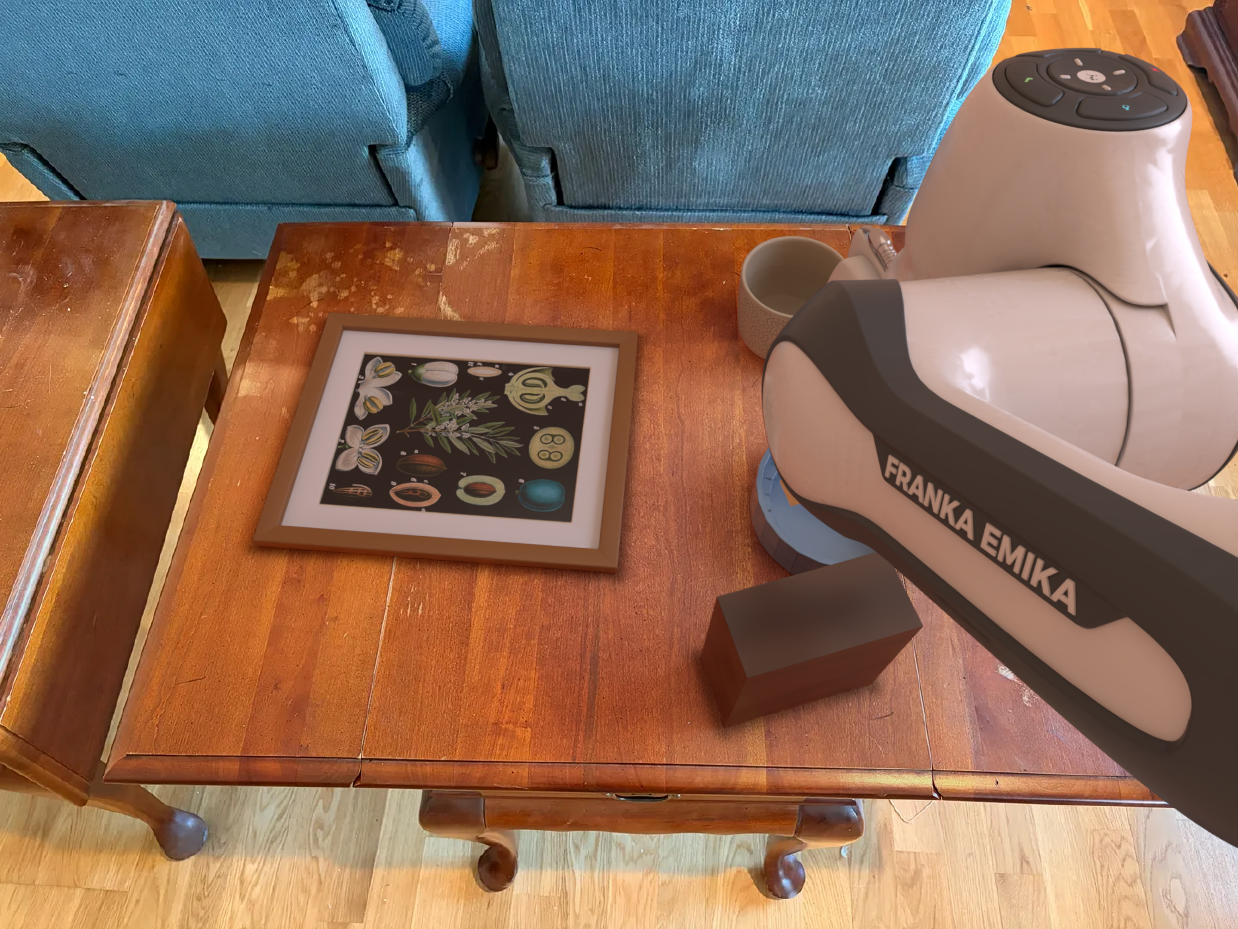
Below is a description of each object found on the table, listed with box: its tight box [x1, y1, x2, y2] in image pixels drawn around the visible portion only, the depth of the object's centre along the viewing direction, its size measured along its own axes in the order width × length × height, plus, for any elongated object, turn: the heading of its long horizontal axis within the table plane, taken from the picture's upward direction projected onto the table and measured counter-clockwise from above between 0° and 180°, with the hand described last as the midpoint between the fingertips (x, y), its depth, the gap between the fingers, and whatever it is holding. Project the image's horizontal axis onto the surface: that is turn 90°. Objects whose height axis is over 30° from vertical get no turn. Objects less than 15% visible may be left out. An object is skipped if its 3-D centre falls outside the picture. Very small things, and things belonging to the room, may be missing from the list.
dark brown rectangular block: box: [700, 552, 924, 729], centre depth 74 cm, size 7×15×16 cm, turn 106°
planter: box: [737, 235, 845, 360], centre depth 98 cm, size 12×12×11 cm
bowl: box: [749, 446, 896, 575], centre depth 87 cm, size 17×17×6 cm
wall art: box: [252, 312, 639, 574], centre depth 94 cm, size 31×2×38 cm
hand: (878, 467), depth 57 cm, fingers closed on pencil, 3 cm apart
